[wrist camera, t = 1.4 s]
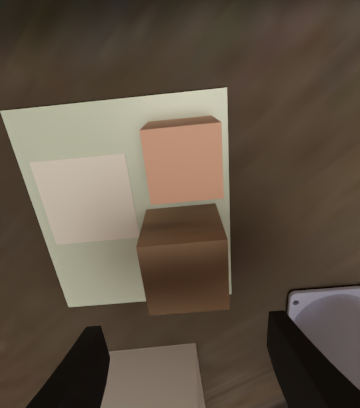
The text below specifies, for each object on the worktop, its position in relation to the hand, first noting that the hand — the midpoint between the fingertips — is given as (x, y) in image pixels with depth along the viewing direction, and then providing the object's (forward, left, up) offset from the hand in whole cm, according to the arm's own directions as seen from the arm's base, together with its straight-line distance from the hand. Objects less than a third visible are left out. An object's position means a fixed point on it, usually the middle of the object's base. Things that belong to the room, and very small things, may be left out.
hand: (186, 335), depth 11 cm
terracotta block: (+6, -1, -9) cm, 11 cm away
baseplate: (+2, +3, -10) cm, 10 cm away
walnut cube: (0, 0, -9) cm, 9 cm away
